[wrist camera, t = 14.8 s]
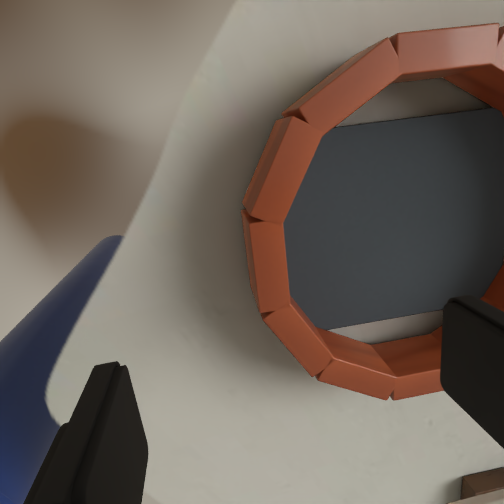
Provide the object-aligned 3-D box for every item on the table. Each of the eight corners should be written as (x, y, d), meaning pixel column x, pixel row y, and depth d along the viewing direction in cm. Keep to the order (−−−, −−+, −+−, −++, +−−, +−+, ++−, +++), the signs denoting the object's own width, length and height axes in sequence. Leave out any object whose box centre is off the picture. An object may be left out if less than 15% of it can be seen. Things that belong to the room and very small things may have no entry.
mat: (290, 332, 23) (292, 336, 22) (271, 135, 19) (273, 135, 18) (493, 296, 24) (499, 299, 23) (514, 105, 20) (521, 104, 20)
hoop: (263, 385, 23) (273, 425, 20) (222, 66, 17) (226, 49, 14) (526, 335, 25) (575, 364, 21) (571, 29, 19) (648, 6, 15)
